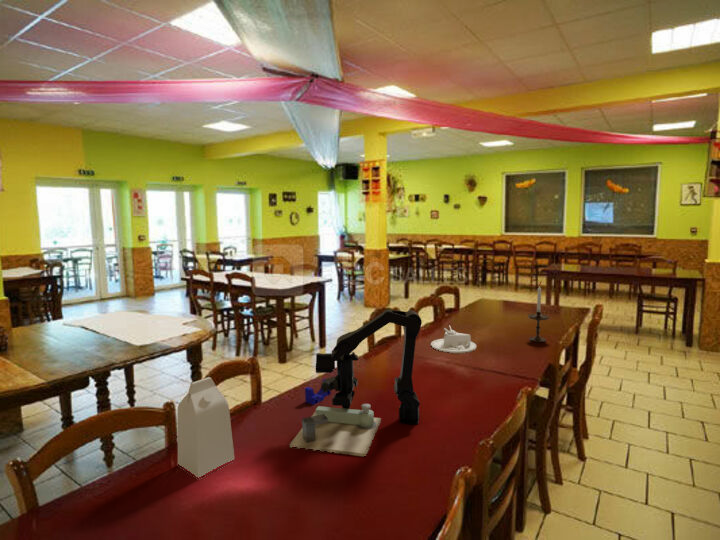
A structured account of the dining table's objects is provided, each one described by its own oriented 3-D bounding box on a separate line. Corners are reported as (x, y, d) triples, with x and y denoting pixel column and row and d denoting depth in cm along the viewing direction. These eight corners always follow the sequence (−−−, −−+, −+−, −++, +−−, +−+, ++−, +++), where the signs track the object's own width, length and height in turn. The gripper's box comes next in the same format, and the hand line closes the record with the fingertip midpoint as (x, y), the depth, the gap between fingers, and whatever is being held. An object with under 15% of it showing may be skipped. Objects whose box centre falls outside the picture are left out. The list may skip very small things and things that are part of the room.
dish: (428, 351, 235) (428, 331, 234) (434, 339, 259) (434, 320, 257) (475, 355, 228) (475, 334, 227) (476, 342, 252) (477, 323, 250)
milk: (213, 448, 139) (208, 370, 136) (234, 461, 132) (230, 378, 129) (177, 465, 130) (171, 382, 127) (198, 479, 123) (192, 391, 120)
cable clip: (313, 405, 171) (313, 390, 170) (305, 402, 173) (305, 388, 172) (333, 394, 180) (333, 381, 179) (325, 392, 183) (324, 378, 182)
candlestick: (549, 339, 254) (551, 280, 249) (545, 344, 245) (548, 282, 240) (529, 336, 260) (531, 278, 255) (525, 341, 250) (527, 281, 246)
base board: (380, 420, 156) (380, 417, 156) (365, 456, 133) (365, 453, 133) (315, 414, 163) (315, 410, 162) (289, 447, 139) (289, 443, 139)
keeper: (324, 432, 147) (323, 413, 146) (328, 437, 143) (327, 418, 142) (302, 437, 144) (302, 418, 143) (306, 442, 140) (306, 423, 139)
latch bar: (375, 420, 153) (374, 403, 153) (372, 427, 148) (371, 409, 148) (319, 415, 158) (319, 398, 157) (314, 421, 153) (314, 404, 152)
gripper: (328, 361, 164) (329, 400, 166) (316, 381, 146) (318, 424, 148) (357, 362, 162) (358, 401, 165) (349, 382, 144) (350, 426, 146)
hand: (346, 413), depth 156 cm, fingers closed
